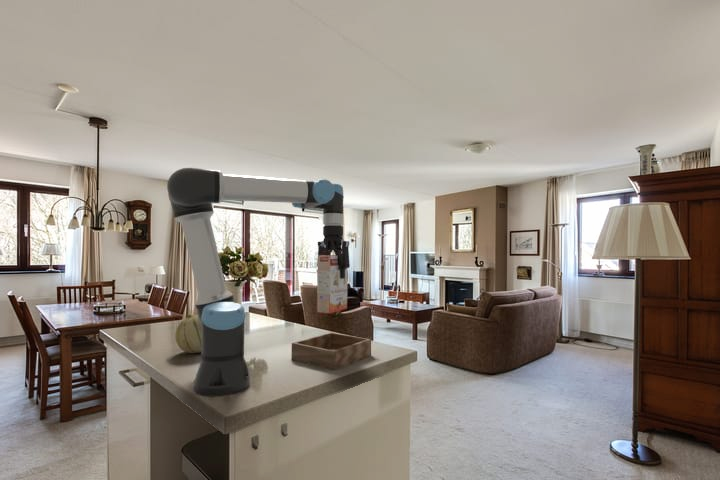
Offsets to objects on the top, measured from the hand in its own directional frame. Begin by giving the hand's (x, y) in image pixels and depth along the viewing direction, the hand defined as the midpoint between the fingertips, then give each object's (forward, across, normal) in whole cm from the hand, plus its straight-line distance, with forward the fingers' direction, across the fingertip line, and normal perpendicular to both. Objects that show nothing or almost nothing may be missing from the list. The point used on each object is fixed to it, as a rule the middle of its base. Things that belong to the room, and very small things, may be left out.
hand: (332, 286), depth 134 cm
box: (+26, 0, 0) cm, 26 cm away
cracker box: (+9, 0, 0) cm, 9 cm away
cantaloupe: (+26, +47, +26) cm, 60 cm away
